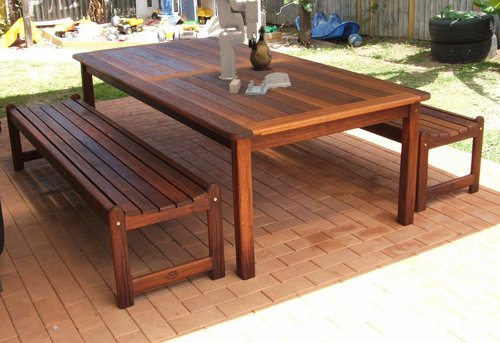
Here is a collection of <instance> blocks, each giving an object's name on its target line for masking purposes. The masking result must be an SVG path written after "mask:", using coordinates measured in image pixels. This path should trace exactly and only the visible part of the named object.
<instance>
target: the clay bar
mask: <svg viewBox="0 0 500 343" xmlns="http://www.w3.org/2000/svg"><path fill="white" fill-rule="evenodd" d="M240 89H241V79H238V78H237V79H233V80H231V82H230V83H229V94H238V92H239V91H240Z"/></svg>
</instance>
